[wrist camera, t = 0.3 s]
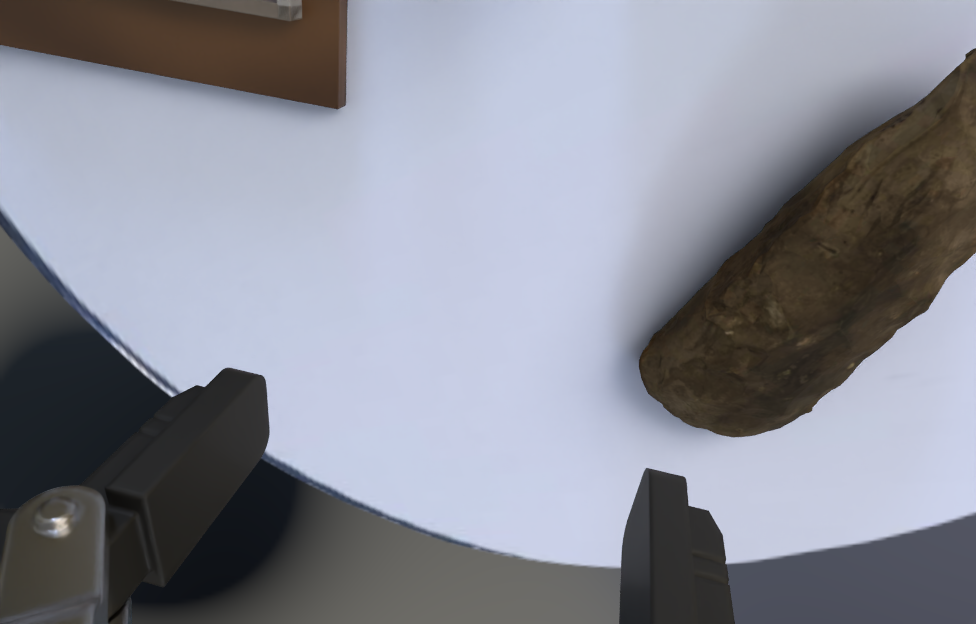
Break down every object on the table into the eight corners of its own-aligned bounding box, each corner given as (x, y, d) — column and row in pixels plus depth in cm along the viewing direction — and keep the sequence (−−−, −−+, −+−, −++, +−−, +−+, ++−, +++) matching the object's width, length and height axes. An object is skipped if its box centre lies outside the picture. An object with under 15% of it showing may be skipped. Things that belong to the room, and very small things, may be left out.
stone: (617, 363, 44) (614, 414, 39) (954, 5, 31) (1015, 14, 26) (739, 442, 45) (751, 502, 40) (1117, 131, 32) (1205, 163, 27)
